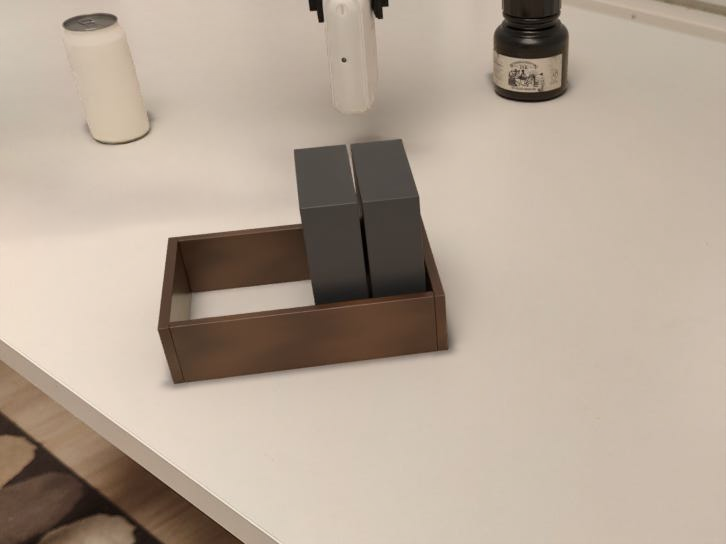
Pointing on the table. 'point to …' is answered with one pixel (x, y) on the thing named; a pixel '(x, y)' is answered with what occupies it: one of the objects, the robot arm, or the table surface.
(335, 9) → the photo printer
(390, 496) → the table surface
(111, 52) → the can
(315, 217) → the charcoal box
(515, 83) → the ink bottle
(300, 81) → the table surface
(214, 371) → the brown wooden tray
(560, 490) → the table surface
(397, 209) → the charcoal box
